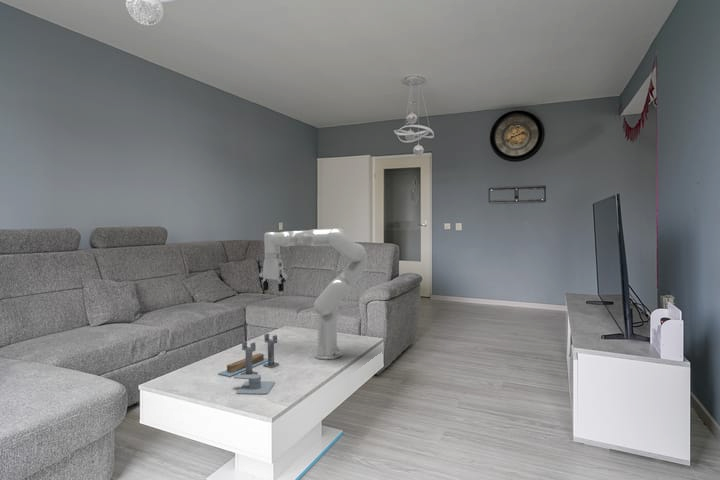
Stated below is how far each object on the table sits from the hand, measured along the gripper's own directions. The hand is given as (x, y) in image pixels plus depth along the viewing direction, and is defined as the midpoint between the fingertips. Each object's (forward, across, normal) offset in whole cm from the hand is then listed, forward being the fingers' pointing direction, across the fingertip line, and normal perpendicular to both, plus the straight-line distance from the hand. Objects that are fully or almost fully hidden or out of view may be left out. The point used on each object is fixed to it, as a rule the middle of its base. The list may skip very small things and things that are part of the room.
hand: (273, 290), depth 209 cm
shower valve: (+33, -20, +38) cm, 54 cm away
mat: (+32, 0, +21) cm, 39 cm away
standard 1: (+32, -9, +28) cm, 44 cm away
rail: (+32, 0, +21) cm, 38 cm away
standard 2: (+32, -9, +14) cm, 37 cm away
